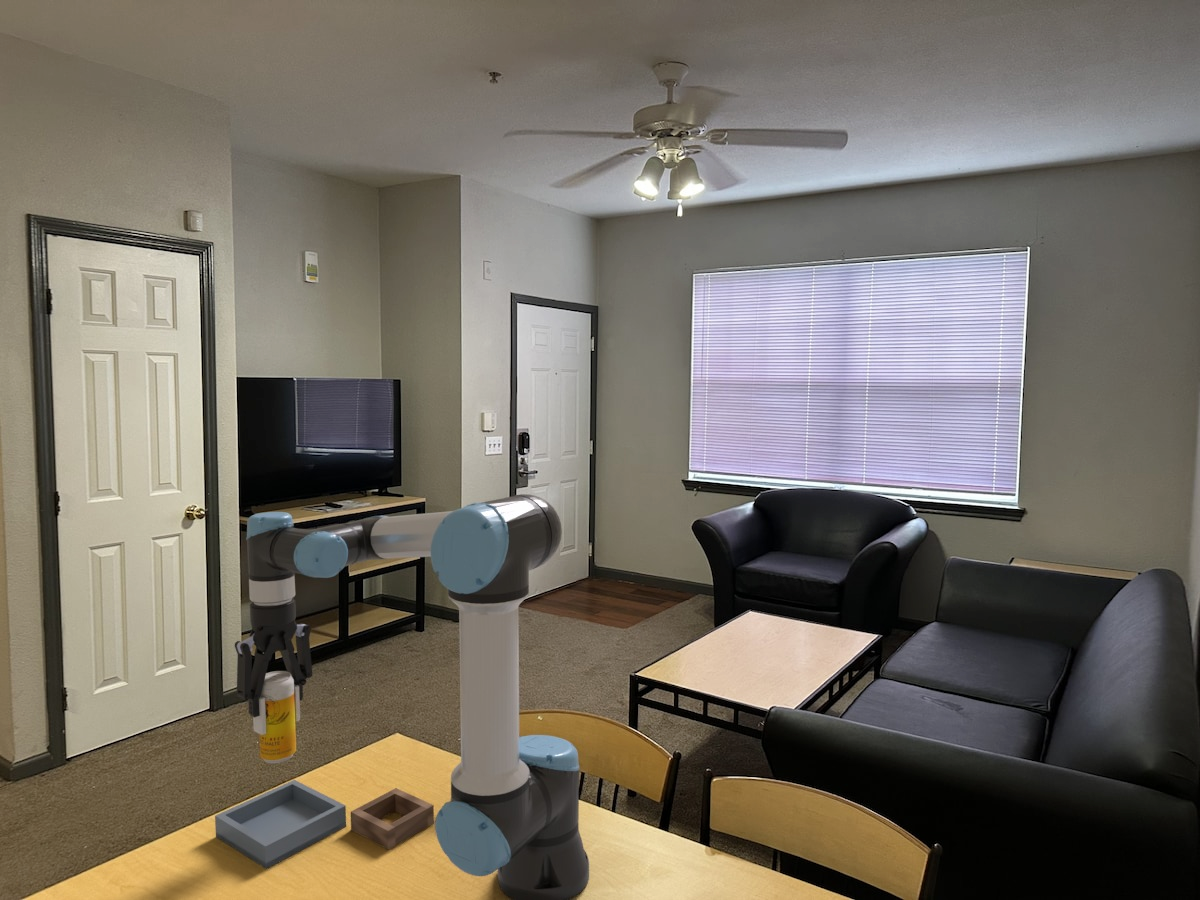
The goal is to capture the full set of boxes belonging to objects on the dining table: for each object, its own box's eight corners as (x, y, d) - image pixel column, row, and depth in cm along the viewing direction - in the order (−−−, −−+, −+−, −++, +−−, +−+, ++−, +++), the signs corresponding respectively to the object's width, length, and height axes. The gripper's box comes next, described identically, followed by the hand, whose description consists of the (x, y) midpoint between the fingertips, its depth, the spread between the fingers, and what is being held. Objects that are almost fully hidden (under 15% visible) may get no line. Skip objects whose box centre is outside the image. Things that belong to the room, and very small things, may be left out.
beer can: (252, 762, 145) (249, 680, 143) (275, 746, 151) (272, 668, 149) (281, 766, 143) (278, 684, 142) (303, 751, 149) (300, 672, 148)
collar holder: (433, 823, 151) (433, 805, 151) (388, 849, 143) (388, 830, 142) (396, 805, 157) (396, 788, 157) (351, 829, 149) (350, 811, 148)
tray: (346, 826, 150) (345, 805, 150) (266, 868, 137) (265, 846, 137) (295, 799, 159) (294, 779, 159) (215, 836, 147) (214, 815, 146)
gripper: (307, 585, 154) (311, 703, 156) (209, 608, 139) (214, 739, 141) (331, 591, 150) (335, 712, 152) (233, 616, 134) (238, 751, 137)
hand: (277, 725), depth 146 cm, fingers closed on beer can, 6 cm apart
